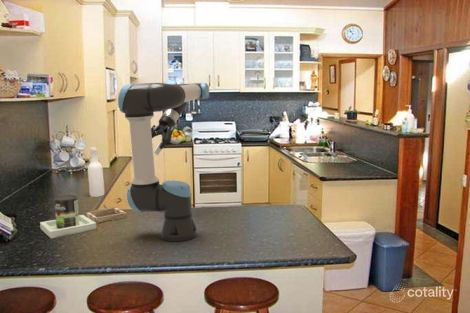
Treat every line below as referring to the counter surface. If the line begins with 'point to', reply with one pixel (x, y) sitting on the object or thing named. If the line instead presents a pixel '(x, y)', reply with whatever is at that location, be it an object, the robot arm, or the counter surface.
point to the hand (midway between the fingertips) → (146, 152)
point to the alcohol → (95, 175)
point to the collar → (93, 214)
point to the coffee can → (66, 211)
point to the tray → (53, 232)
